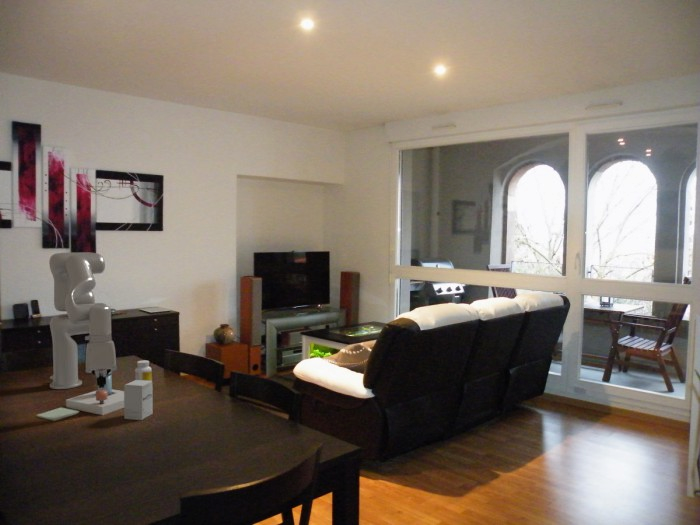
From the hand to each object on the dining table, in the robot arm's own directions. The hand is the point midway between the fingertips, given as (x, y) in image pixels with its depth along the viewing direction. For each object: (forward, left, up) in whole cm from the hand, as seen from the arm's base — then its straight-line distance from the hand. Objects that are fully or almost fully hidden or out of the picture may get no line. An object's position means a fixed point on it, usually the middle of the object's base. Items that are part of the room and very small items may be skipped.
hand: (101, 386), depth 205 cm
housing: (-6, +6, -9) cm, 13 cm away
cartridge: (-9, +9, -9) cm, 16 cm away
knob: (0, 0, -7) cm, 7 cm away
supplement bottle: (-6, +26, -10) cm, 29 cm away
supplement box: (+17, +2, -10) cm, 19 cm away
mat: (-11, -10, -9) cm, 18 cm away
